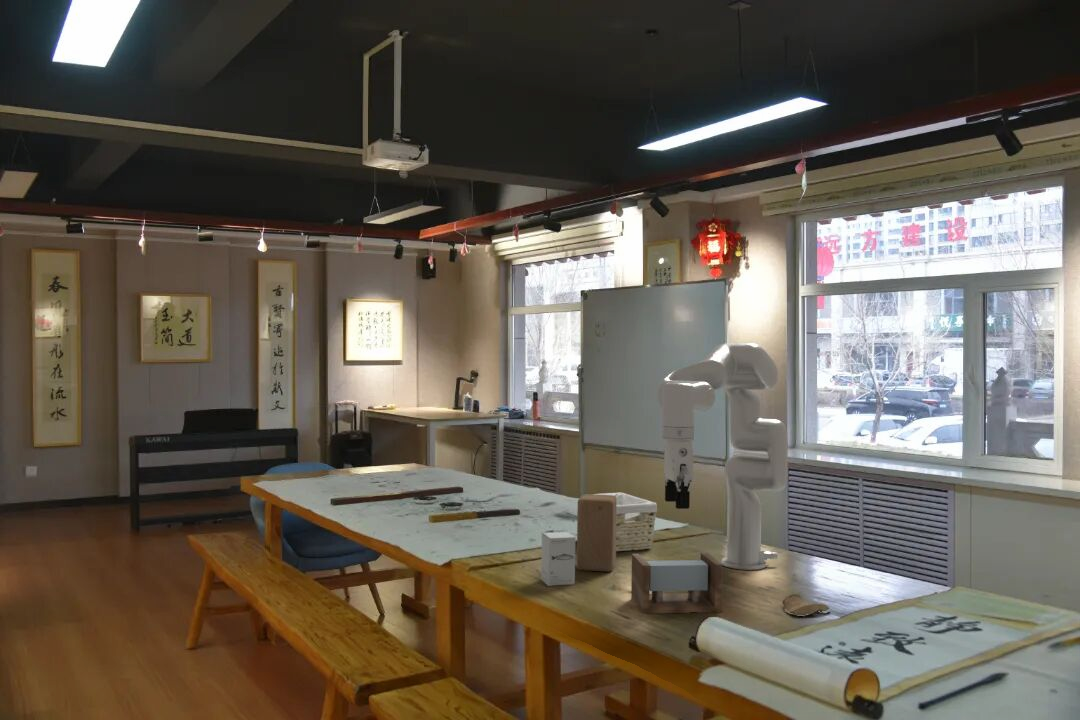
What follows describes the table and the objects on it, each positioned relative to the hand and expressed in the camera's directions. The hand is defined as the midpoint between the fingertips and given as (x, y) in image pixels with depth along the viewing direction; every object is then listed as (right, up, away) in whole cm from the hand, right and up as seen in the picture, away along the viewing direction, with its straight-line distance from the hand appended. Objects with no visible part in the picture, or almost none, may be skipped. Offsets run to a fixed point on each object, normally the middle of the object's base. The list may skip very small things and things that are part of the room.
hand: (676, 504), depth 209 cm
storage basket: (-8, -24, +67) cm, 72 cm away
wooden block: (-17, -24, +36) cm, 47 cm away
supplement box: (-28, -24, +20) cm, 42 cm away
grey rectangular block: (0, -20, 0) cm, 20 cm away
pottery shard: (+29, -25, -3) cm, 39 cm away
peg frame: (0, -24, 0) cm, 24 cm away
